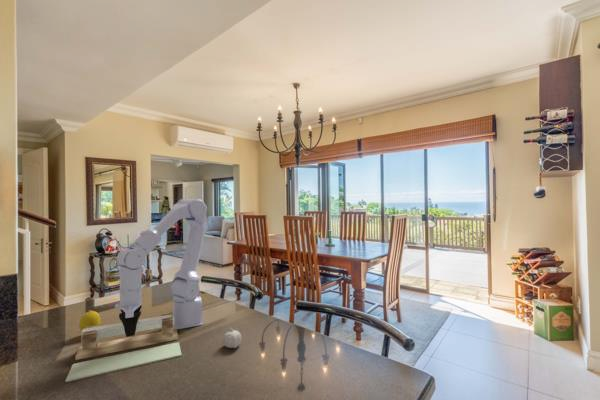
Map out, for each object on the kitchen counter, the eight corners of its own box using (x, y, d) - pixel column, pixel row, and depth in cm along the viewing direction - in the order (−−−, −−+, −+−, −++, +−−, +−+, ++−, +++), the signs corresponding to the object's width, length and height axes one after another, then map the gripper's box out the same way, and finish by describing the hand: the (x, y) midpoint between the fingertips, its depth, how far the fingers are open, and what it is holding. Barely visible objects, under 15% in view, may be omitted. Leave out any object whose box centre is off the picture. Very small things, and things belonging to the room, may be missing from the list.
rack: (176, 331, 98) (176, 312, 98) (178, 339, 92) (178, 318, 92) (79, 349, 86) (79, 328, 86) (75, 359, 80) (75, 336, 80)
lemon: (89, 340, 92) (89, 314, 92) (74, 338, 93) (74, 313, 93) (104, 332, 97) (104, 307, 97) (90, 330, 98) (90, 306, 98)
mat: (178, 343, 90) (178, 342, 90) (181, 355, 83) (181, 354, 83) (72, 365, 78) (72, 364, 78) (65, 382, 71) (65, 380, 71)
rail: (173, 322, 96) (173, 314, 96) (174, 325, 93) (174, 316, 93) (82, 337, 85) (83, 328, 85) (81, 341, 82) (81, 332, 82)
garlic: (221, 343, 90) (221, 326, 90) (239, 340, 92) (239, 323, 92) (223, 352, 84) (223, 334, 84) (242, 349, 86) (242, 331, 86)
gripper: (117, 283, 94) (117, 326, 94) (112, 297, 81) (112, 346, 81) (142, 280, 97) (142, 322, 97) (141, 293, 84) (141, 341, 84)
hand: (130, 333), depth 89 cm, fingers open, 3 cm apart
